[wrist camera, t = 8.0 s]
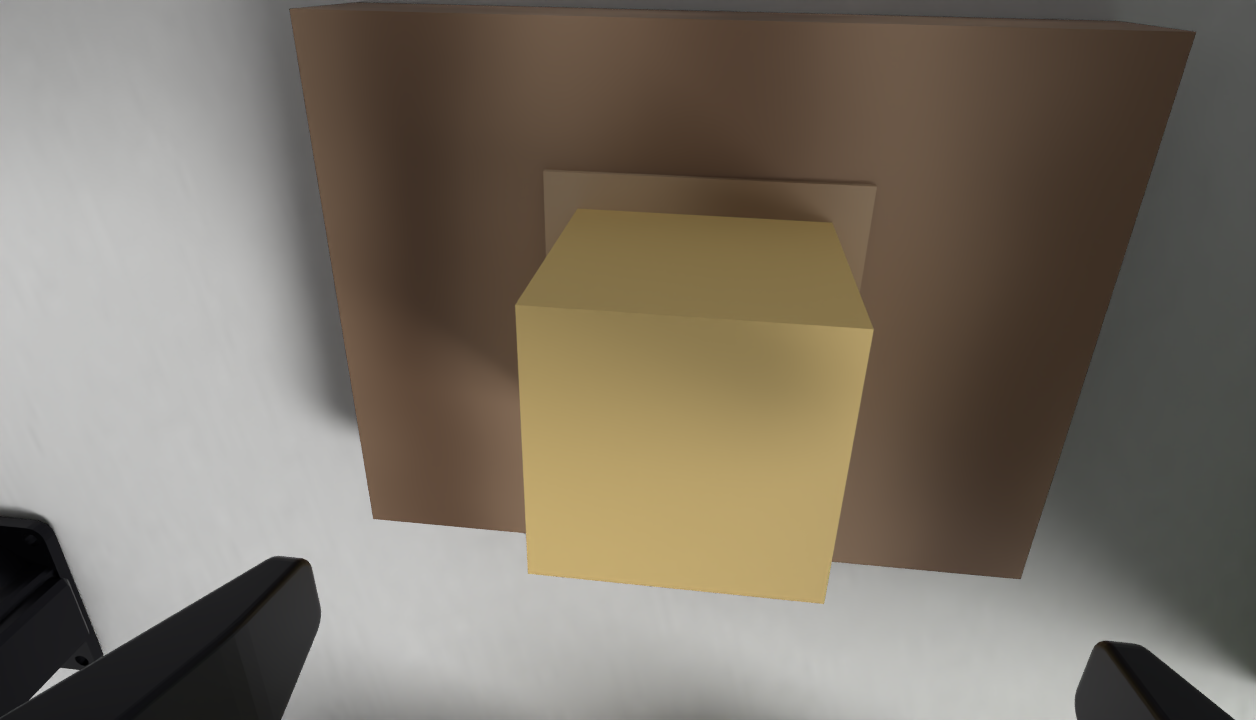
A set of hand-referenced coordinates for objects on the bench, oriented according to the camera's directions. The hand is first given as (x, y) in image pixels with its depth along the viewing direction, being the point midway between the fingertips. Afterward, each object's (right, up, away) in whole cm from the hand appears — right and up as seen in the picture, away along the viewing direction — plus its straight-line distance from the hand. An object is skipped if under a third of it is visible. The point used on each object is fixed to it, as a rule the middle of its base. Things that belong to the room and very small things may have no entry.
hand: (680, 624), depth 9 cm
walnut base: (+1, +5, +10) cm, 12 cm away
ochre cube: (+1, +4, +7) cm, 8 cm away
